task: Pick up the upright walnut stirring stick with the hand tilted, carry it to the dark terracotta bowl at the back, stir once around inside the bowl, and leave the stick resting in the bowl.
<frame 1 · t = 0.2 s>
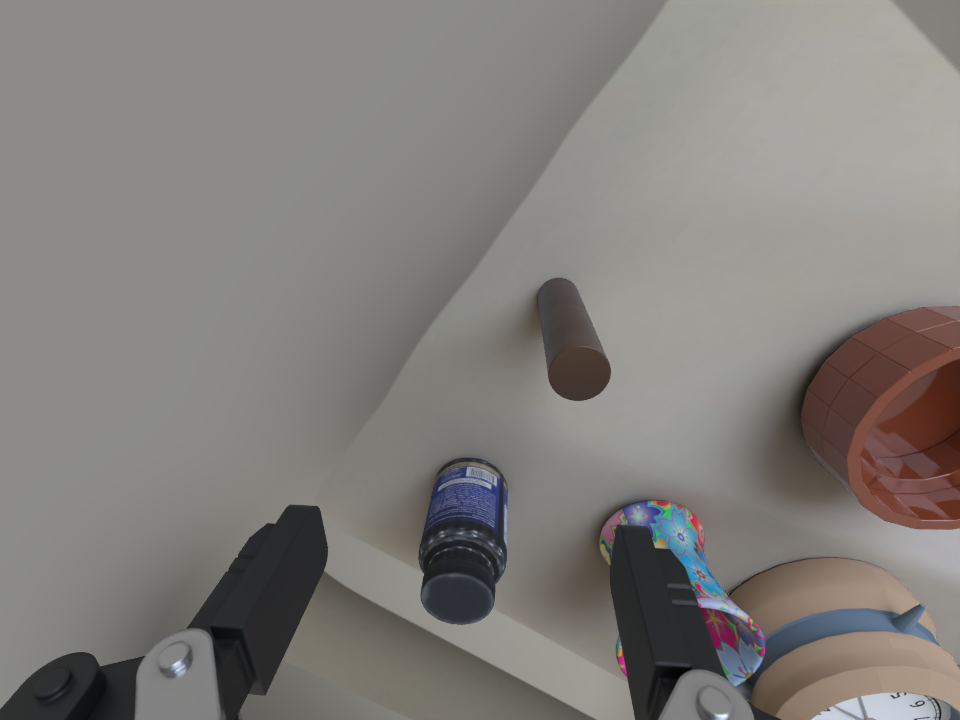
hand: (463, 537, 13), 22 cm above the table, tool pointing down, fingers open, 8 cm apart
alarm clock: (778, 636, 44), on the table
pill bottle: (472, 483, 39), on the table
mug: (638, 521, 40), on the table
bowl: (897, 394, 33), on the table
stick: (558, 297, 32), on the table
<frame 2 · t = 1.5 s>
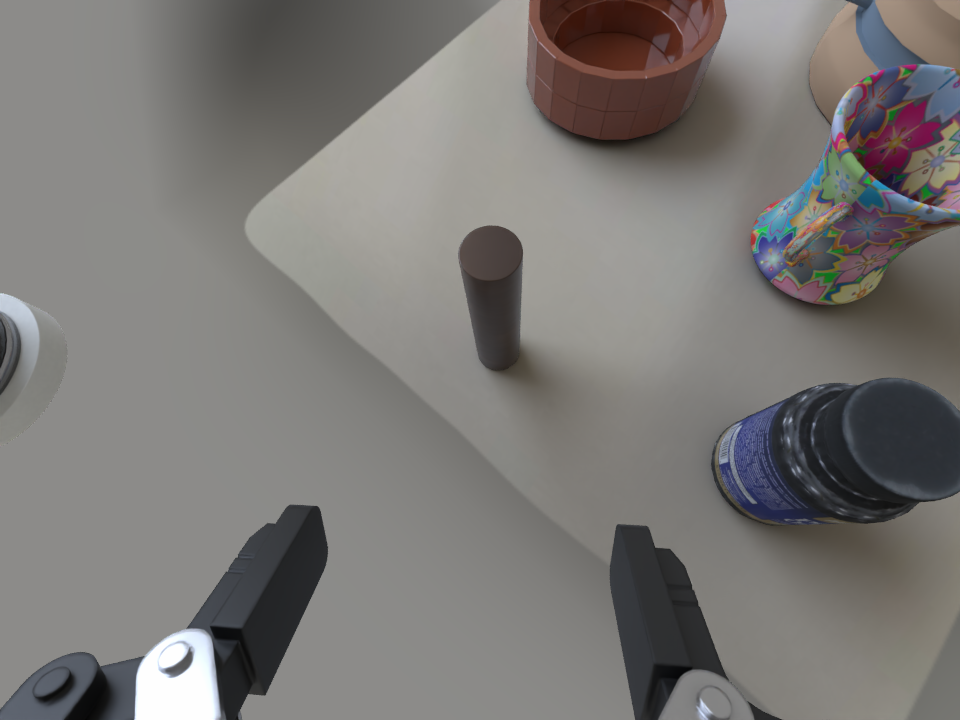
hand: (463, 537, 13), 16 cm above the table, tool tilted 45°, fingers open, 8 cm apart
alarm clock: (956, 110, 36), on the table
pill bottle: (759, 470, 28), on the table
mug: (792, 267, 32), on the table
bowl: (609, 83, 39), on the table
stick: (498, 350, 31), on the table
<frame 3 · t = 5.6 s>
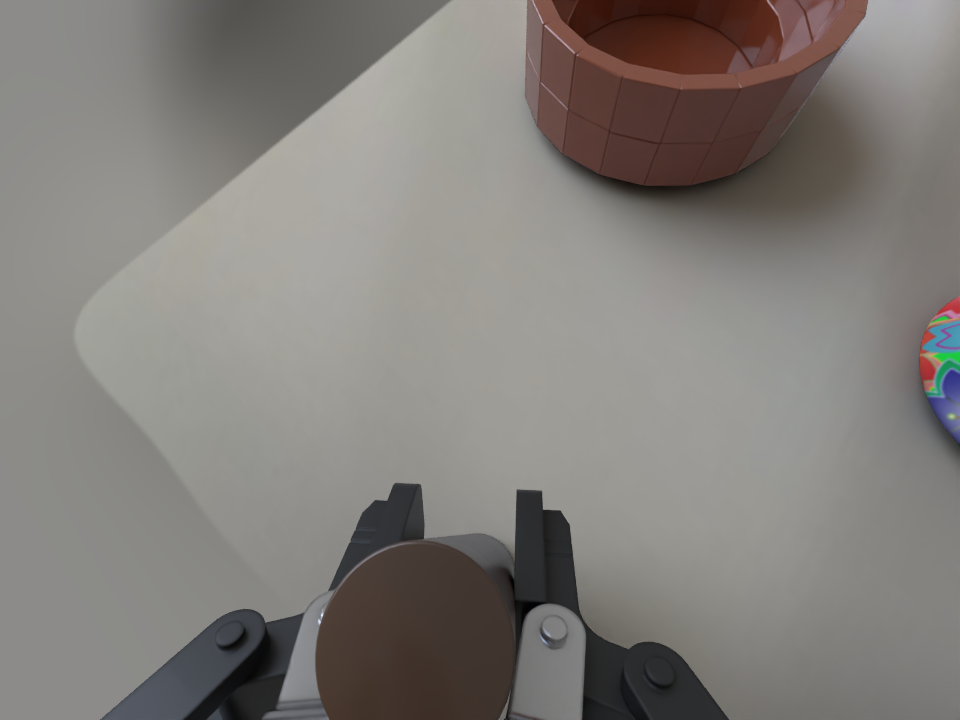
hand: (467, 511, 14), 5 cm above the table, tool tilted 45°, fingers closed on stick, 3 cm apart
bowl: (652, 93, 25), on the table
stick: (477, 572, 18), on the table, touching gripper
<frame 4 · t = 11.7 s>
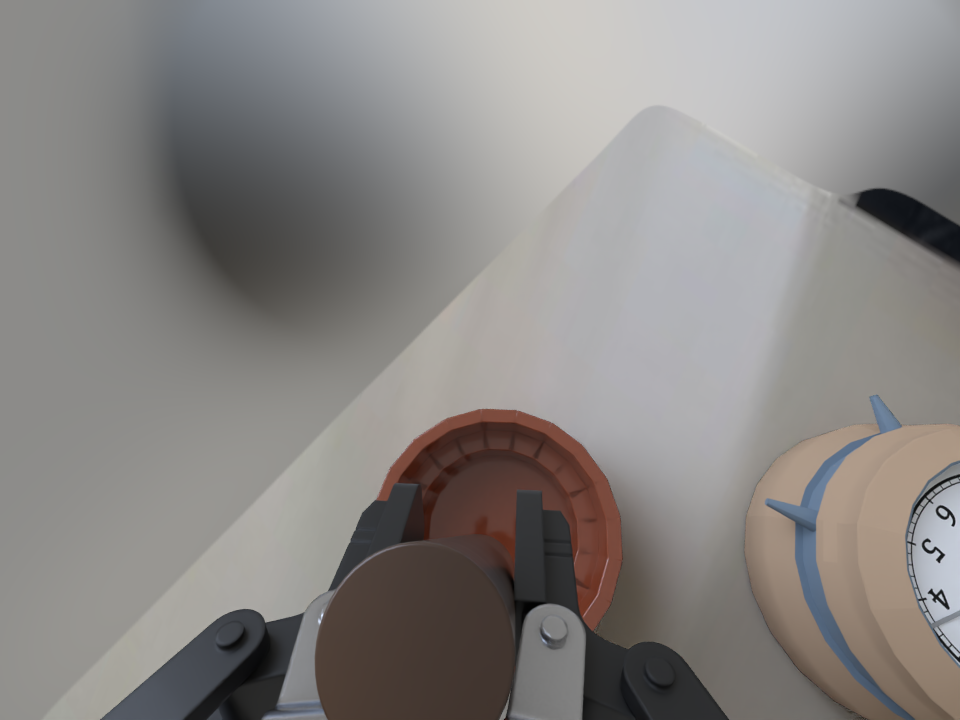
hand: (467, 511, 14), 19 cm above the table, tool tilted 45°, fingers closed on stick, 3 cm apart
alarm clock: (928, 608, 28), on the table
bowl: (497, 531, 31), on the table
stick: (478, 573, 18), point 14 cm above the table, touching gripper
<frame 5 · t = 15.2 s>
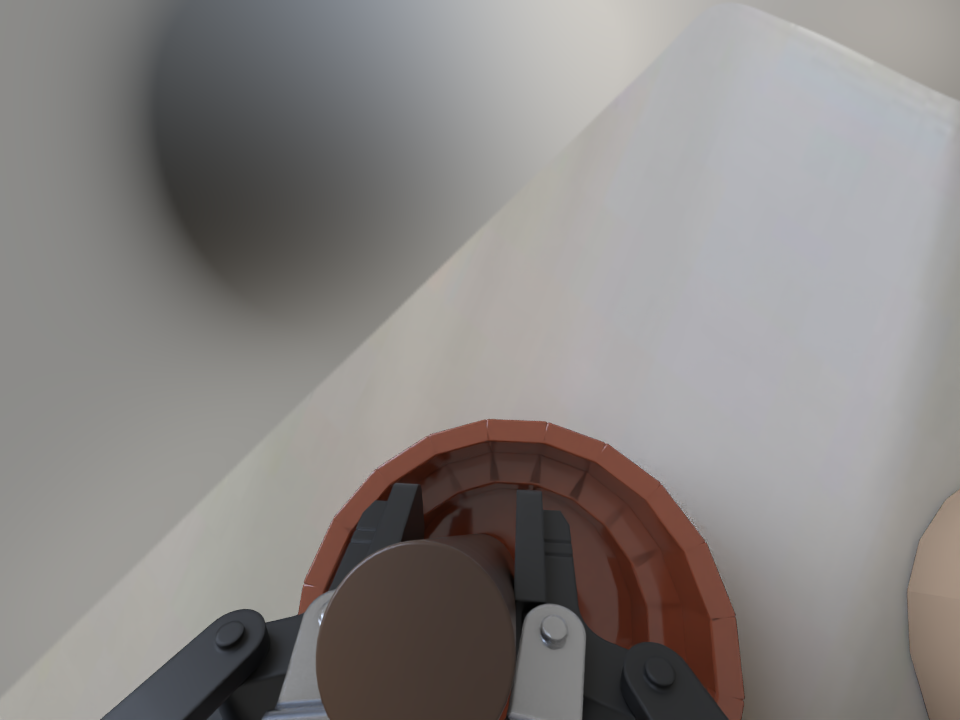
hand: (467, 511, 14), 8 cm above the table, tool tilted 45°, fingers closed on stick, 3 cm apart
bowl: (511, 607, 20), on the table
stick: (478, 573, 18), point 3 cm above the table, touching gripper
when the fingers open (6 cm above the table, at t = 17.7 s): stick stays where it is, resting on bowl.
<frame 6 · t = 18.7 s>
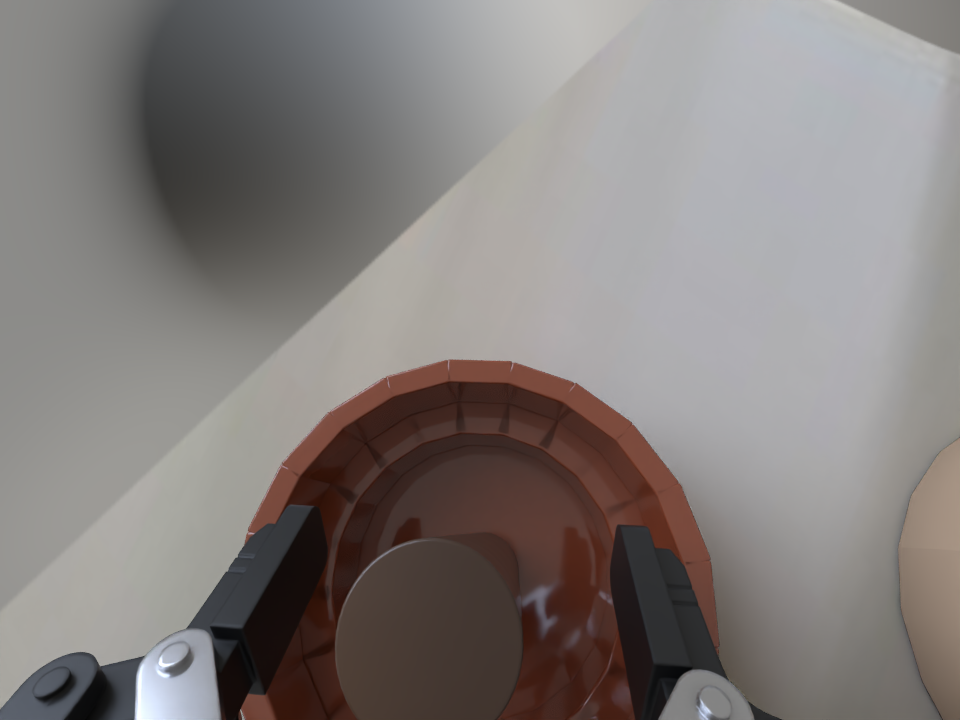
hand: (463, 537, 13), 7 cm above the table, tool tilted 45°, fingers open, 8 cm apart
bowl: (481, 568, 19), on the table
stick: (482, 570, 18), point 1 cm above the table, touching bowl
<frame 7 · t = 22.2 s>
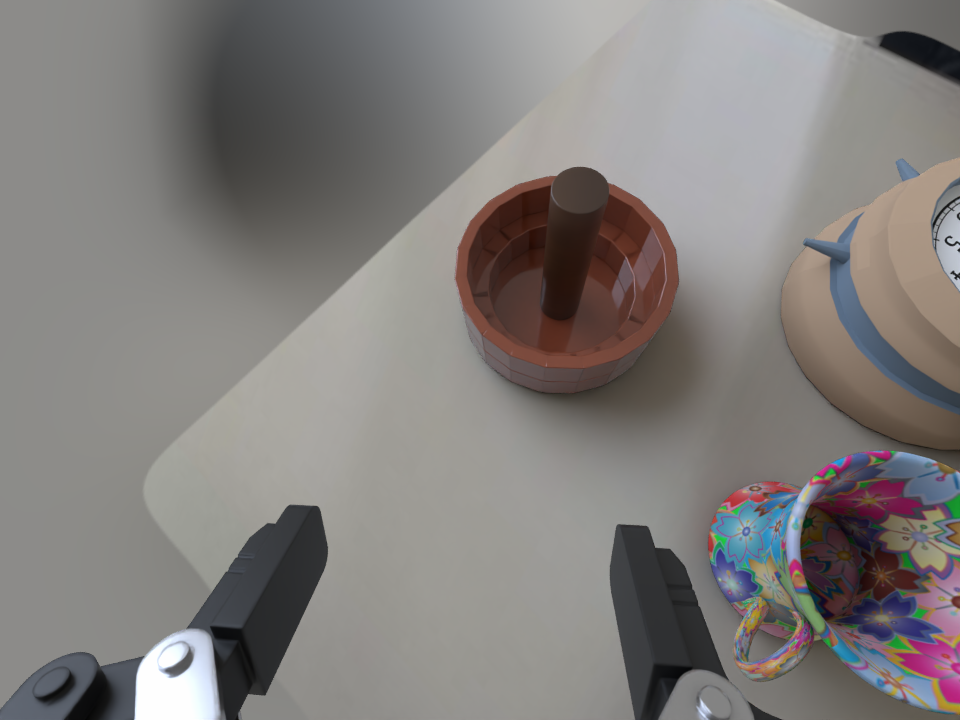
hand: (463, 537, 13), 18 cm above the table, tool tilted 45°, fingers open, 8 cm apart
alarm clock: (948, 357, 31), on the table
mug: (758, 569, 28), on the table
bowl: (556, 307, 35), on the table
stick: (559, 302, 34), point 1 cm above the table, touching bowl
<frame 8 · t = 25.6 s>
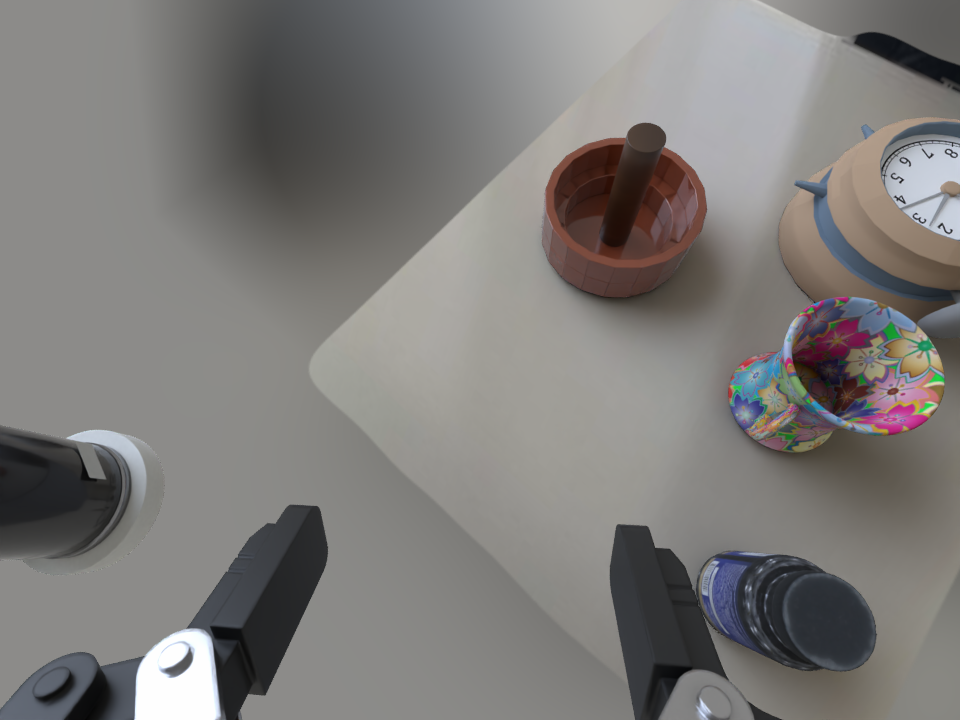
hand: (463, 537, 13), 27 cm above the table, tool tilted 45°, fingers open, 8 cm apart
alarm clock: (900, 270, 43), on the table
pill bottle: (735, 593, 35), on the table
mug: (763, 413, 40), on the table
bowl: (611, 239, 46), on the table
stick: (613, 234, 45), point 1 cm above the table, touching bowl
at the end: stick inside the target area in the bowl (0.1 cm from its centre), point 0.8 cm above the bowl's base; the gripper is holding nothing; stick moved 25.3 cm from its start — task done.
